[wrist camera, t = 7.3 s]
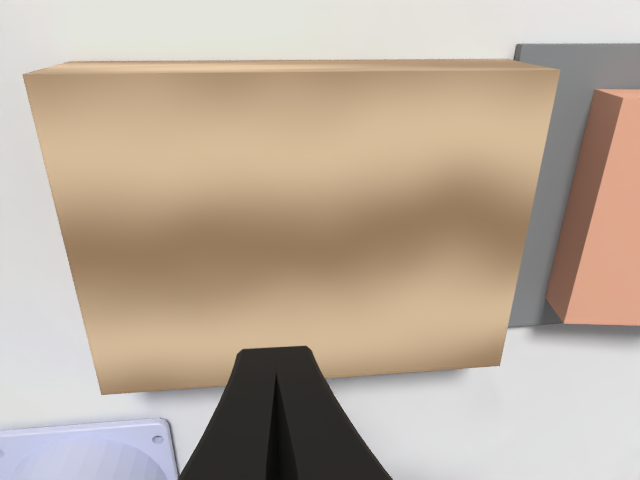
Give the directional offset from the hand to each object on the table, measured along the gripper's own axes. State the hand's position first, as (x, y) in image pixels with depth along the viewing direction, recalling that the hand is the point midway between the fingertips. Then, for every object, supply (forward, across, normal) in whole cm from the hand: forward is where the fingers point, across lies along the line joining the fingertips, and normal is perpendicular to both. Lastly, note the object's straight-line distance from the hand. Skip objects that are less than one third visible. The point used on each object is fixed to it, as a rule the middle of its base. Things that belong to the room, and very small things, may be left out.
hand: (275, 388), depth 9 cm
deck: (+10, -1, 0) cm, 10 cm away
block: (+7, -15, 0) cm, 17 cm away
